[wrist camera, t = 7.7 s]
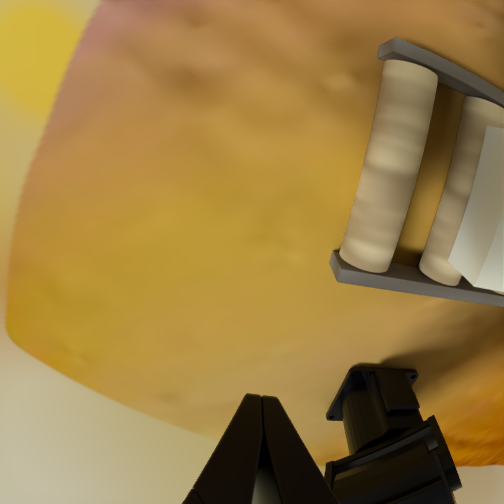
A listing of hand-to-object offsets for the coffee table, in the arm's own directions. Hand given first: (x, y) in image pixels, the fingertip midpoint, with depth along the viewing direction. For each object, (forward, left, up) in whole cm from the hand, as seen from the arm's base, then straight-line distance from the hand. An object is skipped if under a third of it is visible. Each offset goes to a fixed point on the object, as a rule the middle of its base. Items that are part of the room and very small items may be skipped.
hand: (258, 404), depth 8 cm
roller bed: (+6, -17, -12) cm, 22 cm away
